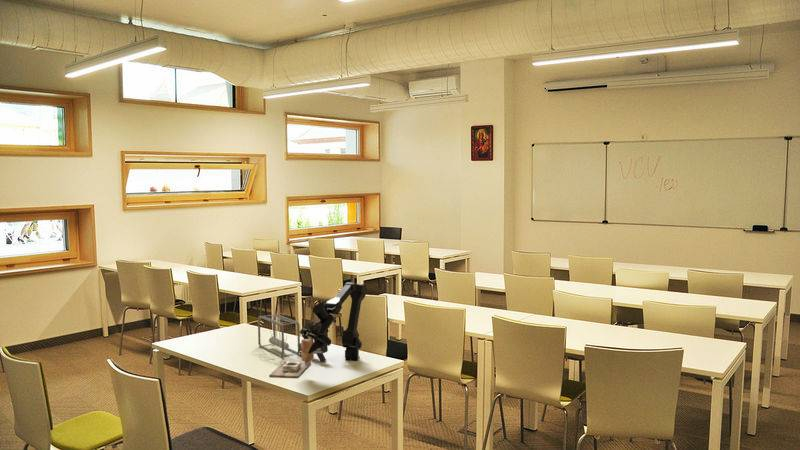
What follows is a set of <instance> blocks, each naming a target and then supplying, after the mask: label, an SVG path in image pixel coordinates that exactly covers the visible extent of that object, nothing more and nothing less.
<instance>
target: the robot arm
mask: <svg viewBox="0 0 800 450" xmlns="http://www.w3.org/2000/svg"><path fill="white" fill-rule="evenodd" d="M367 292H368V288H367V286H366V284H363V283H362V284H361V283H355V282H346V283H344V286H343V287H342V288H341V289H340V291H339V292H338V293H337V294H336V295H335V297H333V298H331V299H329V300H327V301H326V302H325V303H324V302H323V301H319V303H317V304H316V305H314V306H313V307H312V313H313V314H314V315H315V316H316V318H317V319H318V322H317V321H314V322H313V323H312V322H309V321H305V324H303V328H301V329H300V332H299V333H300V336H302V337H303V338H302V339H313V342H314V343H313V345H312V346H311V348H310V350H309V352H308V353H309V354H310V353H312V352H314V351H315V350H317V349H319V348H321V347H323V346H325V345H327V347H330V346H331V344H332V339H331V338H330V337H329V336H328V335H327V334H326V333H329V331H330V330H329V328H330V327H331V325H332V324H333V323H335V324H336V323H337V319H336V318H337V317H336V316H334V315H339V314H340V312H341V311H342V309H343V304H344V303H345V301H346V300H348V297H350V298H351V304H350V308H349V309H350V310H349V318H348V321H347V328H346V329H343V331H342V335H341V344H342V347H343V348H345V350H344V360H345V361H348V362H349V361H351V362H352V361H356V362H358V360H359V359H360V358H361V357H360V349H361V348H362V346H363V342H362V341H361V339H360V334H359V333H360V332H358V323H359V318H360V312H361V311H360V310H361V305H362V302H363V300H364V299H365V298H366V294H367ZM324 344H325V345H324ZM301 351H302V347H301ZM301 351H300V352H301Z"/></svg>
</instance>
